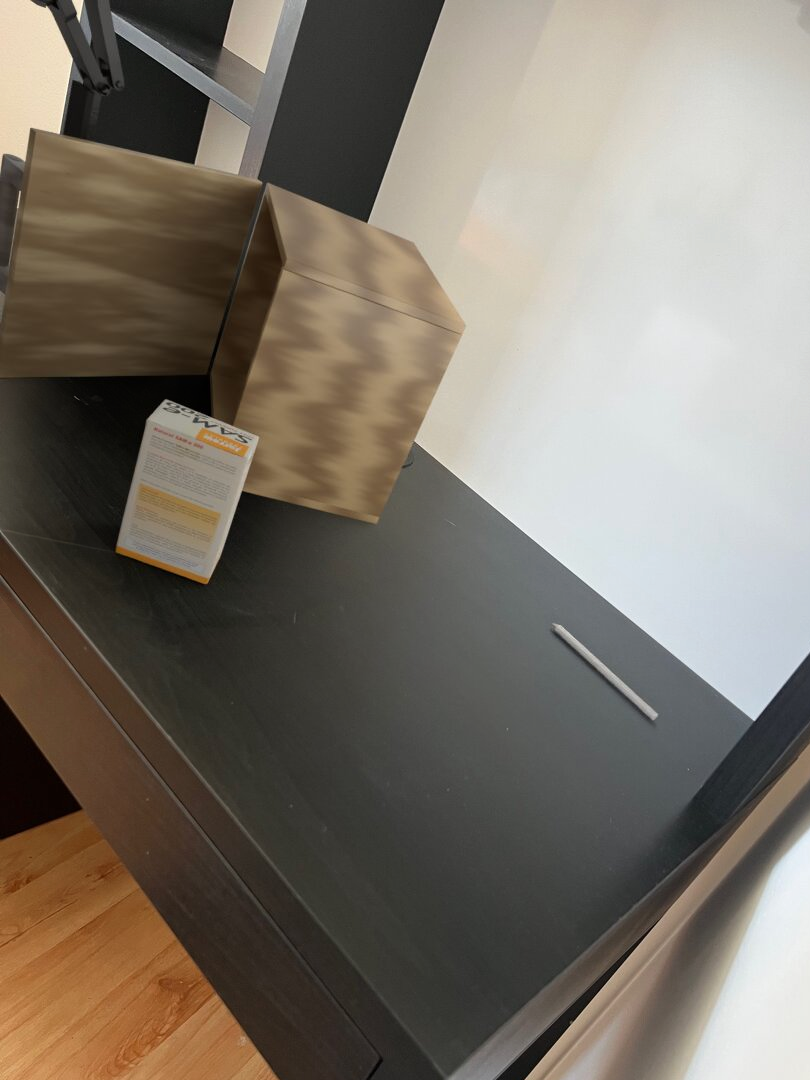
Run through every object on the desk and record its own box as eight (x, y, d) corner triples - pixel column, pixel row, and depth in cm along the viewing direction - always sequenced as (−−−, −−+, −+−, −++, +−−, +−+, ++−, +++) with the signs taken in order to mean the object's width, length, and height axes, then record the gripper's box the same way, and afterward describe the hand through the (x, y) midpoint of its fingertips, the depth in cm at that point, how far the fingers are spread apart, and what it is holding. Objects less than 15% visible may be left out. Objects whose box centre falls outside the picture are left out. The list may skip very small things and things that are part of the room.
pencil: (555, 620, 93) (659, 715, 86) (550, 626, 93) (653, 721, 86) (554, 618, 92) (658, 713, 86) (548, 624, 92) (652, 720, 86)
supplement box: (220, 559, 77) (263, 435, 70) (206, 587, 73) (250, 459, 66) (130, 525, 75) (165, 395, 69) (111, 552, 71) (146, 417, 65)
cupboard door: (-42, 337, 88) (-12, 94, 75) (168, 342, 108) (218, 151, 96) (-2, 377, 85) (36, 131, 73) (206, 375, 105) (262, 182, 93)
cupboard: (213, 484, 86) (286, 258, 74) (209, 375, 106) (267, 182, 94) (376, 524, 94) (466, 325, 82) (344, 416, 114) (413, 242, 101)
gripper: (-110, -201, 57) (-131, 126, 68) (195, -54, 77) (142, 182, 88) (-158, -231, 60) (-170, 88, 71) (148, -81, 79) (102, 151, 90)
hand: (2, 141), depth 79 cm, fingers open, 13 cm apart
